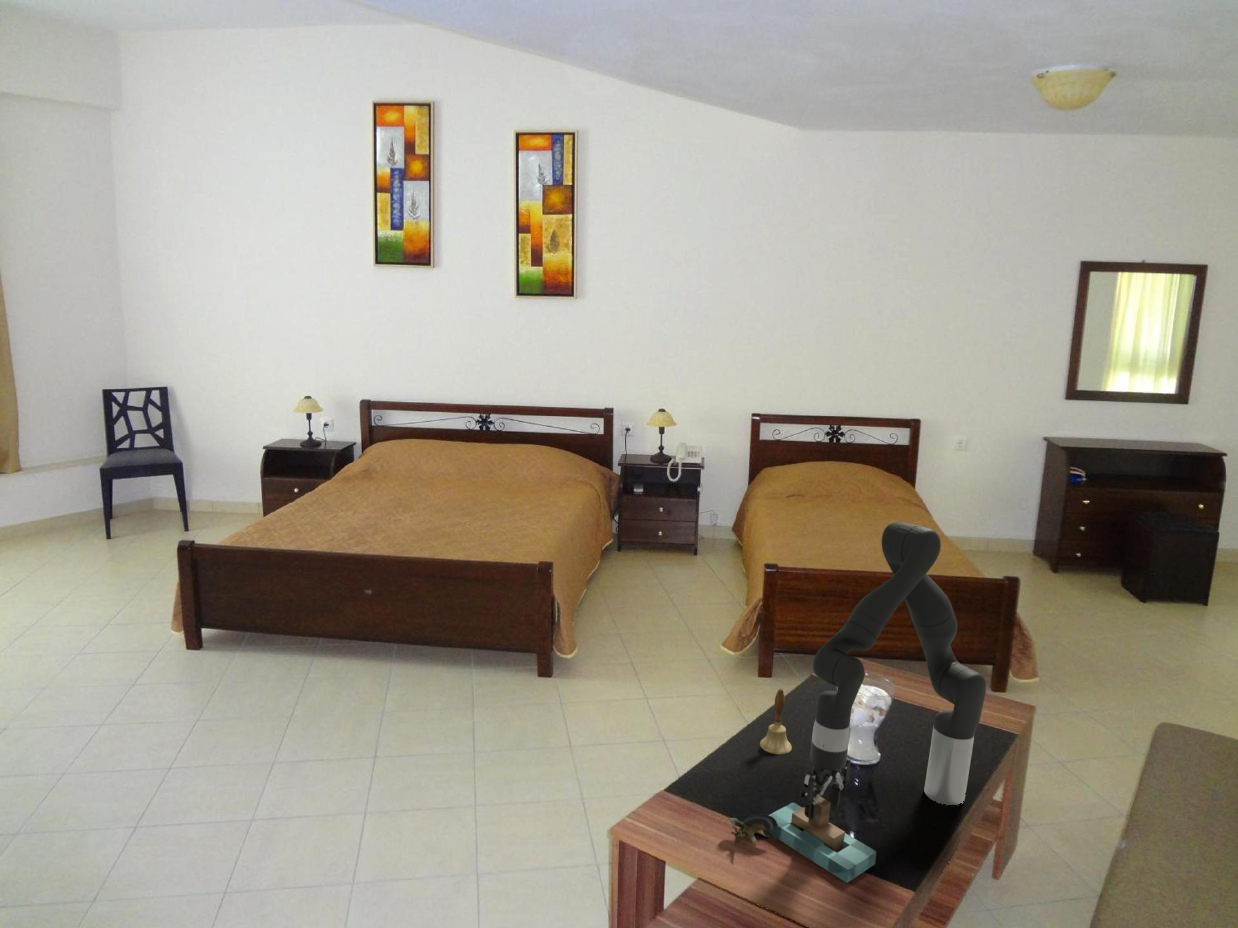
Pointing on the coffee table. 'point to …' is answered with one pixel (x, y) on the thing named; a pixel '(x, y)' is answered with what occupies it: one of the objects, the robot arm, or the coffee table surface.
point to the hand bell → (777, 730)
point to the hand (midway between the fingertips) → (821, 810)
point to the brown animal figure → (753, 826)
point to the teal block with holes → (823, 847)
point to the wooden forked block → (820, 825)
